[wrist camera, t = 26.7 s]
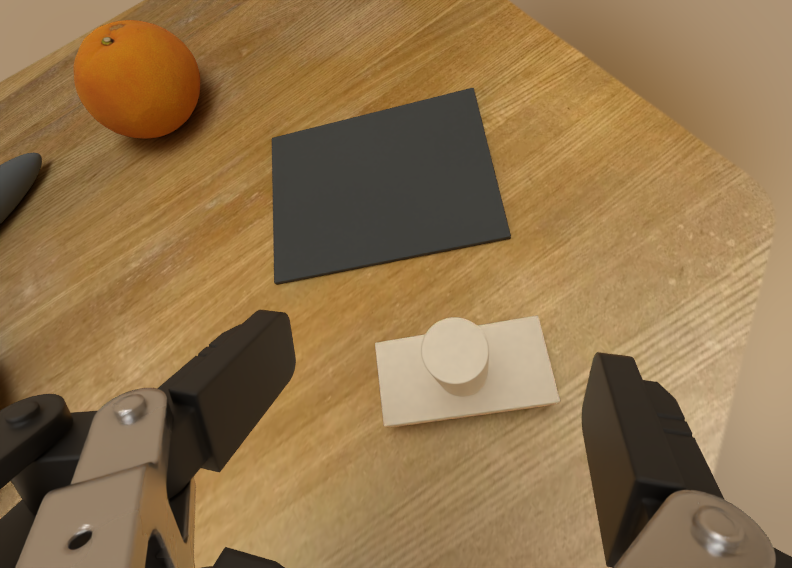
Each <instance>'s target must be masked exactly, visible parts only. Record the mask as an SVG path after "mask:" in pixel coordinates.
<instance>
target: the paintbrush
mask: <svg viewBox="0 0 792 568" xmlns="http://www.w3.org/2000/svg"><path fill="white" fill-rule="evenodd" d="M41 164H42V158H41V155H40V154H38V153H27V154H24V155H21V156H18V157H15V158H13V159H11V160H9V161H7V162H5V163H3V164H2V165H0V224H1V223H2V222H3V221H4V220H5V219H6V217H7V216H8V215H9V214H10V213H11V212H12V211H13V210H14V208H15V207H16V206H17V205H18V204H19V202H20V201H21V200H22V198H23V197H24V196H25V194H26V193H27V192H28V190H29V189H30V187H31V186H32V184H33V182H34V181H35V179H36V177H37V175H38V173H39V170H40V168H41Z"/></svg>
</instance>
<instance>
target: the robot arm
mask: <svg viewBox="0 0 792 568" xmlns="http://www.w3.org/2000/svg"><path fill="white" fill-rule="evenodd" d="M295 363H296V358H295V351H294V345H293V338H292V332H291V325H290V320H289V317H288V315H287V314H286V313H283V312H275V311H267V310H258V311H256V312H255V313H254V314H253V315H252V316H251V317H249V318H248V319H247V320H246V321H245V322H244V323H243V324H241V325H238V326H236V327H234V328H232V329H230V330H228V331H226V332H224V333H222V334H221V335H220V336H218V337H217V338H216V339H215V340H214V341H213V342H211V343H210V344H209V347H206V348H204V349H203V350H202V351H201V352H200V353H199V354H198V356H195V357H194V358H193V359H192V360H190V361H189V362H188V363H187V364H186V365H184V366H183V367H182V368H181V369H180V370H179V371H177V372H176V373H175V374H174V375H173V376H172V377H170V378H169V379H168V380H167V381H166V382H165V383H163V384H162V385H161V386H160V387H159V388H158V389H156V388H141V389H136V390H132V391H129V392H126V393H124V394H121V395H119V396H117V397H115V398H113V399H112V400H110V401H109V402H107V403H106V404H105V405H103V406H102V407H101V408H100V409H99V410H98V411H89V412H75V413H70V411H69V409H68V407H67V405H66V403H65V401H64V399H63V398H62V397H61V396H59V395H56V394H43V395H37V396H33V397H29V398H26V399H23V400H20V401H18V402H16V403H13V404H11V405H9V406H7V407H6V408H4V409H2V410H1V411H0V489H1V488H2V487H3V486H5V485H6V484H7V483H8V482H9V481H11V482H12V483H13V485H14V486H15V488H16V490H17V491H18V493H19V495H20V496H21V498H22V500H21V501H20V502H19V503H18V504H17V505H16V506H15V507H14V508H12V509H11V510H10V511H9V512H8V513H7V514H6V515H5V516H3V517H2V518H1V519H0V568H195V563H194V531H195V498H196V483H195V480H194V477H193V476H194V475H195V474H196V473H197V472H198V470H199V469H200V468H203V469H207V470H212V471H216V472H220V471H221V470H222V469H223V467H224V466H225V465H226V464H227V462H228V461H229V460H230V458H231V457H232V456H233V454H234V453H235V452H236V450H237V449H238V448H239V447H240V445H241V444H242V443H243V441H244V440H245V439H246V437H247V436H248V435H249V433H250V432H251V431H252V429H253V428H254V427H255V426H256V424H257V423H258V422H259V420H260V419H261V418H262V416H263V415H264V414H265V412H266V411H267V410H268V409H269V407H270V406H271V405H272V403H273V402H274V401H275V399H276V398H277V397H278V395H279V394H280V393H281V392H282V390H283V389H284V388H285V386H286V385H287V384H288V382H289V381H290V380H291V378H292V376H293V373H294V370H295ZM684 419H685V417H684V415H683V413H682V411H681V409H680V407H679V405H678V403H677V401H676V399H675V398H674V397H673V396H672V395H671V394H670V393H668V392H667V391H666V390H665V389H664V388H663V387H662V386H661V385H660V384H659V383H658V382H653V381H646V380H642V377H641V375H640V372H639V370H638V367H637V365H636V363H635V360H634V358H633V357H631V356H623V355H615V354H607V353H599V352H597V353H596V354H595V356H594V358H593V362H592V366H591V371H590V375H589V380H588V384H587V388H586V393H585V397H584V402H583V407H582V431H583V436H584V442H585V448H586V453H587V459H588V464H589V470H590V476H591V481H592V487H593V492H594V498H595V504H596V509H597V515H598V521H599V526H600V532H601V537H602V543H603V549H604V554H605V560H606V565H607V566H608V567H612V568H792V557H791V556H789V555H787V554H785V553H783V552H781V551H779V550H777V549H776V548H774V547H773V546H772V544H771V542H770V540H769V538H768V537H767V535H766V534H765V533H764V531H763V530H762V529H761V528H760V526H759V525H758V524H757V523H756V522H755V521H754V520H753V519H751V517H749V516H748V515H747V514H746V513H744V512H743V511H742V510H740V509H739V508H737V507H736V506H734V505H733V504H731V503H729V502H727V501H725V500H724V498H723V496H722V494H721V491H720V489H719V487H718V485H717V483H716V481H715V479H714V477H713V475H712V473H711V471H710V469H709V467H708V465H707V463H706V461H705V459H704V456H703V454H702V452H701V450H700V448H699V446H698V444H697V442H696V440H695V438H693V437H692V432H691V430H690V428H689V426H688V424H687V422H685V420H684ZM203 568H285V567H283V566H282V565H280V564H279V563H277V562H276V561H272V560H269V559H265V558H262V557H258V556H255V555H251V554H248V553H244V552H241V551H237V550H234V549H231V548H227V547H225V548H224V550H223V551H222V553H221V554H220V556H219V558H218V559H217V561H216V562H215V564H214V565H213V566H209V567H203Z"/></svg>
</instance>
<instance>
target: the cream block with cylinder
mask: <svg viewBox="0 0 792 568" xmlns="http://www.w3.org/2000/svg"><path fill="white" fill-rule="evenodd" d="M375 348H376V357H377V367H378V376H379V386H380V395H381V404H382V414H383V423H384V426H385V427H398V426H405V425H412V424H420V423H427V422H434V421H441V420H448V419H456V418H463V417H470V416H477V415H484V414H492V413H499V412H506V411H513V410H520V409H528V408H535V407H542V406H549V405H554V404H556V403H559V402H560V398H559V394H558V390H557V386H556V382H555V378H554V375H553V371H552V367H551V363H550V359H549V355H548V351H547V348H546V344H545V340H544V336H543V332H542V328H541V324H540V320H539V317H538V316H531V317H525V318H519V319H513V320H507V321H502V322H496V323H490V324H484V325H478V326H477V325H476V324H474V323H473V322H471V321H469V320H467V319H463V318H458V317H452V318H446V319H443V320H440V321H438V322H437V323H435V324H434V325H433V326H432V327H430V329H429V330H428V331H427V332H426V334H425V335H419V336H413V337H407V338H401V339H395V340H389V341H383V342H377V343H375Z"/></svg>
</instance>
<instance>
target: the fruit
mask: <svg viewBox="0 0 792 568" xmlns="http://www.w3.org/2000/svg"><path fill="white" fill-rule="evenodd" d="M74 81H75V87H76V90H77V93H78V95H79V98H80V100H81V102H82V103H83V105H84V106H85V108H86V109H87V110H88V112H89V113H90V114H91V115H92V116H93V117H94V118H95V119H96V120H97V121H98V122H99V123H101V124H102V125H104V126H105V127H106V128H108V129H110V130H112V131H114V132H116V133H118V134H121V135H125V136H128V137H134V138H157V137H160V136H164V135H166V134H169V133H171V132H173V131H175V130H176V129H177V128H179V127H180V126H181V125H183V124H184V123H185V122H186V121H187V120H188V119H189V117H190V116H191V114H192V112H193V110H194V109H195V106H196V104H197V101H198V98H199V93H200V74H199V69H198V66H197V63H196V60H195V58H194V56H193V55H192V53H191V52H190V50H189V49H188V48H187V47H186V45H185V44H184V43H183V42H182V41H181V40H180V39H178V38H177V37H176V36H174V35H173V34H172V33H170V32H169V31H167V30H166V29H164V28H161V27H159V26H157V25H154V24H151V23H147V22H142V21H135V20H125V21H116V22H112V23H109V24H107V25H103V26H101V27H99V28H97V29H95V30H94V31H93V32H92V33H91V34H89V35H88V36H87V37H86V38H85V39H84V40H83V42H82V44H81V46H80V48H79V51H78V53H77V56H76V58H75V62H74Z"/></svg>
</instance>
